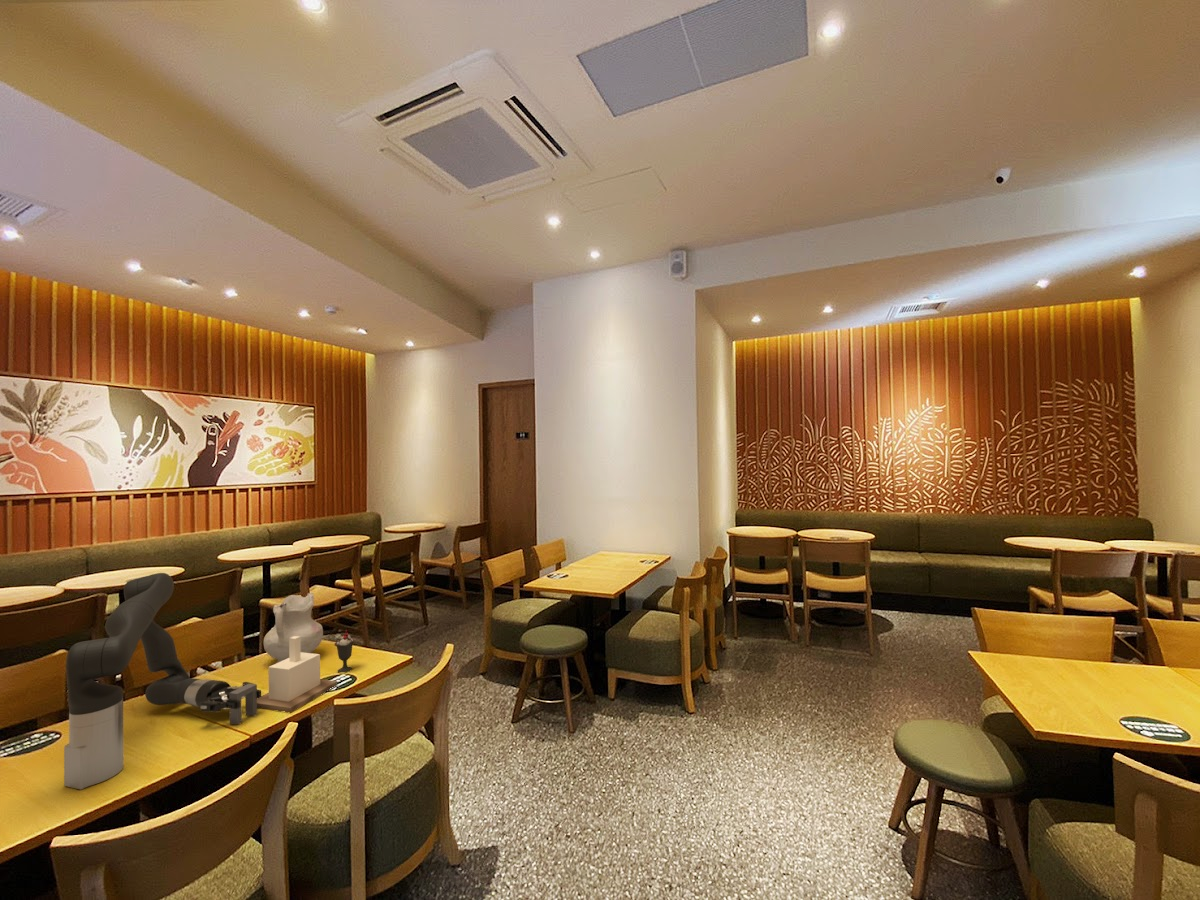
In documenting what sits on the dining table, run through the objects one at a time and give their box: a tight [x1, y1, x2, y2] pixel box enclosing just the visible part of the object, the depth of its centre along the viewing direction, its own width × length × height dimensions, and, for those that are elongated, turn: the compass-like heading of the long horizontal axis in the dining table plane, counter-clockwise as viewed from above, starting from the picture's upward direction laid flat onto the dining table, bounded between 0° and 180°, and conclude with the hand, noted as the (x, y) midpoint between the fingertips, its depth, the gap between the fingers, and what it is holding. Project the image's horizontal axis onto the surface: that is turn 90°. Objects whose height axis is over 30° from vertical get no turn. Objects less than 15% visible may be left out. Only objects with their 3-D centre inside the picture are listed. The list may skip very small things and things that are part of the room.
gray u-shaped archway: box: [229, 683, 258, 726], centre depth 144 cm, size 6×3×9 cm, turn 165°
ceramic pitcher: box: [263, 592, 324, 664], centre depth 186 cm, size 22×20×25 cm
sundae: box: [333, 629, 356, 673], centre depth 177 cm, size 7×7×15 cm
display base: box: [257, 678, 338, 714], centre depth 157 cm, size 18×16×2 cm
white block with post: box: [268, 636, 321, 702], centre depth 158 cm, size 12×8×18 cm, turn 165°
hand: (249, 699), depth 143 cm, fingers closed on gray u-shaped archway, 6 cm apart
